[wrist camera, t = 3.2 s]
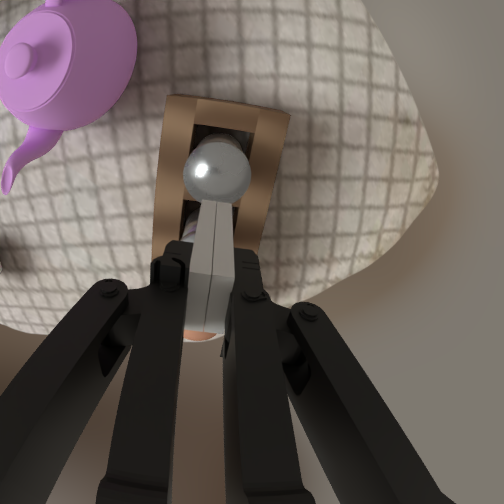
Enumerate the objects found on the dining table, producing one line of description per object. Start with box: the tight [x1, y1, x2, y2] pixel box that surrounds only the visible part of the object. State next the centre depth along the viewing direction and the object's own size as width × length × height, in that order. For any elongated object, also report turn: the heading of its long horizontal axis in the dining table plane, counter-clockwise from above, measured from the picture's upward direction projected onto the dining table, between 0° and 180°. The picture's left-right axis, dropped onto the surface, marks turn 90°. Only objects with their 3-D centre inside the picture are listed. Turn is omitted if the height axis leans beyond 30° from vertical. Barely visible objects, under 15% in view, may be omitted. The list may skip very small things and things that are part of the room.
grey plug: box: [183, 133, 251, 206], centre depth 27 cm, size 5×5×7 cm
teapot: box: [0, 0, 137, 195], centre depth 21 cm, size 22×16×14 cm
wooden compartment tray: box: [152, 94, 291, 261], centre depth 35 cm, size 27×12×5 cm, turn 169°
